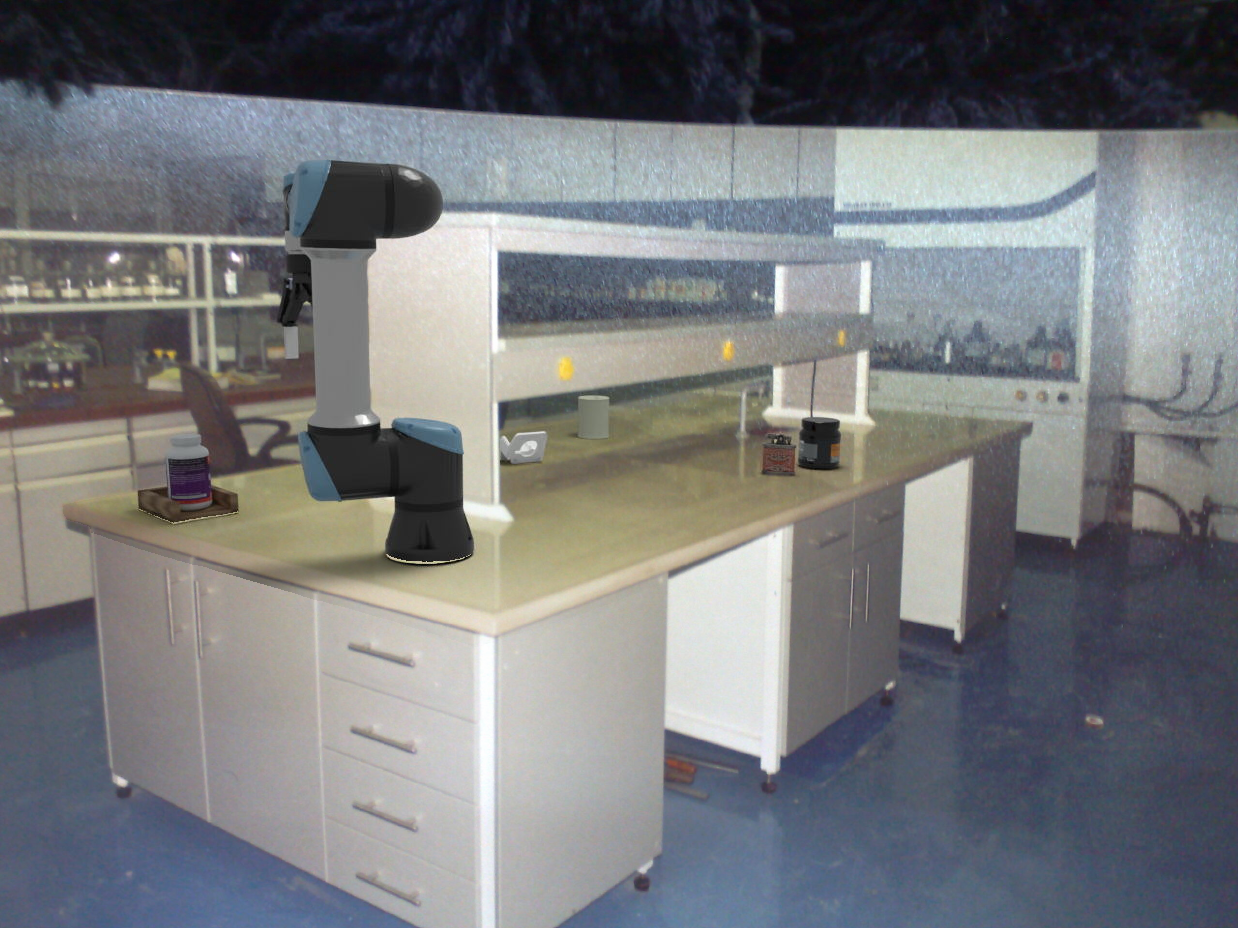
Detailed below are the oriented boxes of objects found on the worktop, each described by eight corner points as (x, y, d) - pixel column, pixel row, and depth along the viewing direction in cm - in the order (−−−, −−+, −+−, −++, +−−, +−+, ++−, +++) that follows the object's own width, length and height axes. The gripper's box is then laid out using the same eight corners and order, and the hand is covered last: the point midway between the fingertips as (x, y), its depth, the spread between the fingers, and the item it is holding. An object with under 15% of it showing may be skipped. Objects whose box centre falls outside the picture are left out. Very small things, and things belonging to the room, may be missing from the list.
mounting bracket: (497, 472, 260) (504, 436, 255) (487, 458, 265) (494, 422, 259) (540, 468, 266) (548, 432, 261) (530, 454, 271) (538, 419, 265)
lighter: (795, 474, 254) (797, 433, 252) (794, 476, 251) (796, 435, 249) (762, 471, 256) (764, 431, 254) (760, 474, 253) (762, 433, 251)
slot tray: (238, 513, 206) (237, 493, 205) (173, 524, 197) (171, 503, 196) (202, 500, 217) (201, 481, 216) (138, 510, 208) (137, 490, 207)
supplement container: (846, 466, 265) (849, 419, 262) (826, 472, 257) (829, 424, 254) (810, 460, 271) (812, 415, 269) (789, 466, 263) (791, 419, 261)
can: (585, 440, 297) (586, 398, 295) (572, 435, 306) (572, 394, 303) (614, 438, 302) (615, 397, 299) (600, 433, 310) (600, 393, 307)
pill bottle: (220, 507, 206) (215, 436, 204) (180, 514, 200) (175, 440, 198) (200, 501, 212) (195, 431, 209) (161, 507, 206) (156, 435, 203)
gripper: (356, 253, 203) (359, 362, 206) (290, 255, 219) (294, 356, 223) (321, 252, 197) (325, 364, 201) (257, 254, 214) (261, 357, 217)
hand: (308, 360), depth 212 cm, fingers open, 13 cm apart
